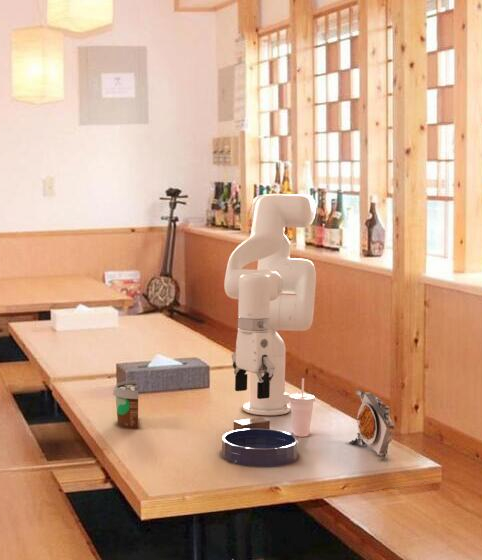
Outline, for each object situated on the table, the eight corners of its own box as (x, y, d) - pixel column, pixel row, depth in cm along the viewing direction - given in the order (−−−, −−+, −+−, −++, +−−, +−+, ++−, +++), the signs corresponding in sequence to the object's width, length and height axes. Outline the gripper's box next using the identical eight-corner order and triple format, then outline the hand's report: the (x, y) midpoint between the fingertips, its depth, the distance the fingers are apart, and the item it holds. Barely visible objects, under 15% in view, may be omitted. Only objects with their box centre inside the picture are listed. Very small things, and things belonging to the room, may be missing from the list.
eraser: (260, 432, 261) (260, 417, 260) (269, 436, 257) (270, 420, 257) (233, 436, 257) (233, 420, 256) (242, 441, 253) (242, 424, 253)
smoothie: (316, 432, 261) (318, 377, 260) (311, 439, 255) (312, 382, 254) (291, 430, 263) (292, 375, 262) (285, 436, 257) (286, 380, 256)
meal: (346, 443, 252) (348, 390, 250) (362, 442, 253) (364, 389, 252) (377, 461, 238) (378, 405, 236) (393, 459, 239) (395, 403, 238)
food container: (112, 417, 273) (112, 380, 272) (136, 417, 274) (136, 380, 273) (113, 430, 261) (113, 391, 260) (138, 430, 262) (138, 390, 260)
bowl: (269, 441, 253) (269, 425, 253) (312, 460, 238) (312, 442, 238) (208, 450, 245) (208, 434, 244) (248, 470, 230) (249, 453, 229)
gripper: (287, 328, 248) (285, 399, 249) (247, 319, 263) (245, 386, 264) (260, 330, 244) (258, 402, 246) (221, 320, 259) (220, 389, 261)
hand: (251, 394), depth 255 cm, fingers open, 9 cm apart
